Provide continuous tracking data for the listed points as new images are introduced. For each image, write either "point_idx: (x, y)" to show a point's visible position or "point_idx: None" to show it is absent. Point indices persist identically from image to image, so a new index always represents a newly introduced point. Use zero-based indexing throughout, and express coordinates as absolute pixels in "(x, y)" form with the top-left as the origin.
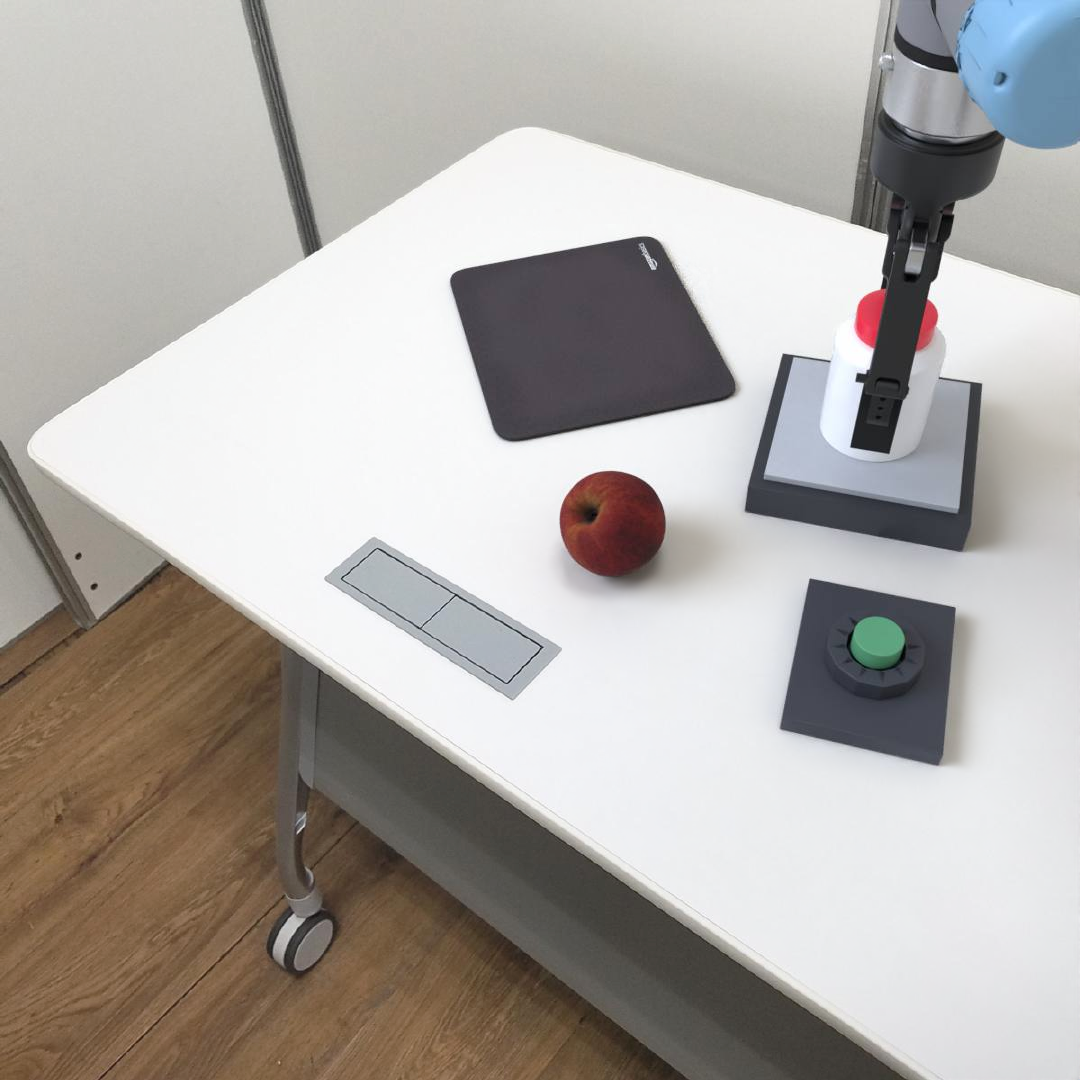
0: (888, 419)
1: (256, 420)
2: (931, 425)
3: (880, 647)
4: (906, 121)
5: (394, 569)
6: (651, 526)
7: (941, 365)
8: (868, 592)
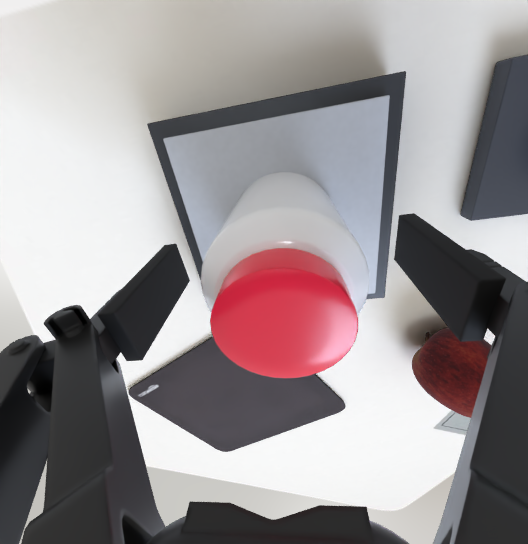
0: (489, 258)
1: (360, 474)
2: (255, 166)
3: None
4: None
5: (457, 416)
6: (487, 358)
7: (297, 205)
8: (490, 164)
